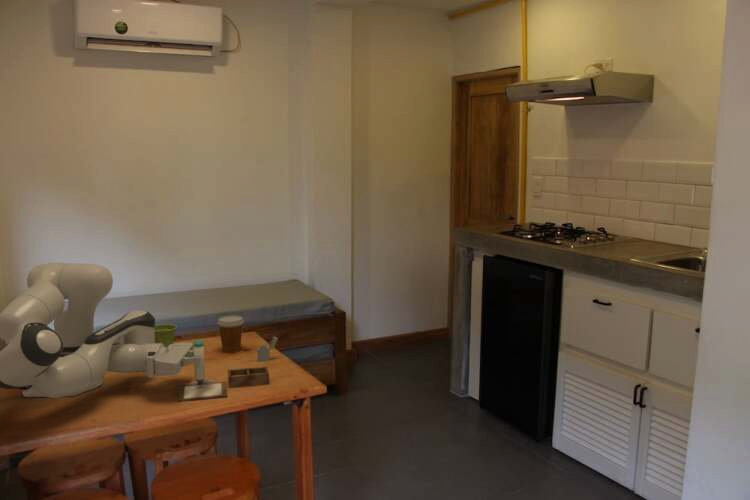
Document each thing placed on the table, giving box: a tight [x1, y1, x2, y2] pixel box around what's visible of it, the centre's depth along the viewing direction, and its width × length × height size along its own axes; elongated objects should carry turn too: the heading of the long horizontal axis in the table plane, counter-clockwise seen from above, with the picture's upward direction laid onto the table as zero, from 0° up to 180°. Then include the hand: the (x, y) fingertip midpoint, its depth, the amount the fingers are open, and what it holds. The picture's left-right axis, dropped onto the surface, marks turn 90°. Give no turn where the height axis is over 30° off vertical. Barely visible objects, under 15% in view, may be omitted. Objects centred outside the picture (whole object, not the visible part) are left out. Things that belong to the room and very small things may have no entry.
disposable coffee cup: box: [217, 315, 245, 354], centre depth 234 cm, size 10×10×12 cm
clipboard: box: [177, 379, 228, 403], centre depth 195 cm, size 14×12×2 cm
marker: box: [192, 340, 206, 385], centre depth 196 cm, size 3×3×14 cm
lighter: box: [256, 336, 279, 362], centre depth 224 cm, size 7×2×8 cm, turn 113°
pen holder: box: [227, 366, 270, 389], centre depth 203 cm, size 12×7×4 cm, turn 105°
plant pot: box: [154, 323, 178, 348], centre depth 234 cm, size 9×9×9 cm
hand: (201, 357), depth 196 cm, fingers closed on marker, 3 cm apart
